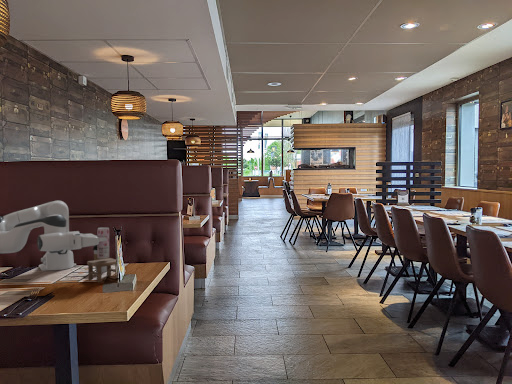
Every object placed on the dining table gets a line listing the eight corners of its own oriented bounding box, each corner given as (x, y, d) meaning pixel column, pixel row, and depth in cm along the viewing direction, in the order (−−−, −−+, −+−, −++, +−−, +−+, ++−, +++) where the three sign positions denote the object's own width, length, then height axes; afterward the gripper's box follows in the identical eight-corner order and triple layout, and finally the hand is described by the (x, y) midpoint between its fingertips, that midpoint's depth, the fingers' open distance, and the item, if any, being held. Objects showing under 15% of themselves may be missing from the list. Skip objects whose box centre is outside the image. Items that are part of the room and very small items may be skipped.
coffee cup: (112, 269, 223) (111, 243, 222) (105, 273, 214) (104, 245, 214) (98, 269, 223) (97, 243, 223) (90, 273, 215) (89, 245, 215)
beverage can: (107, 256, 205) (107, 227, 205) (110, 257, 200) (110, 228, 200) (95, 257, 201) (95, 227, 201) (99, 258, 197) (99, 228, 197)
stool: (87, 279, 201) (87, 261, 201) (110, 274, 210) (109, 257, 210) (98, 282, 193) (97, 264, 193) (121, 278, 202) (120, 260, 201)
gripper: (72, 244, 203) (101, 241, 210) (78, 249, 186) (109, 246, 193) (72, 231, 203) (101, 229, 210) (77, 236, 185) (108, 233, 193)
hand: (105, 238), depth 201 cm, fingers closed on beverage can, 6 cm apart
